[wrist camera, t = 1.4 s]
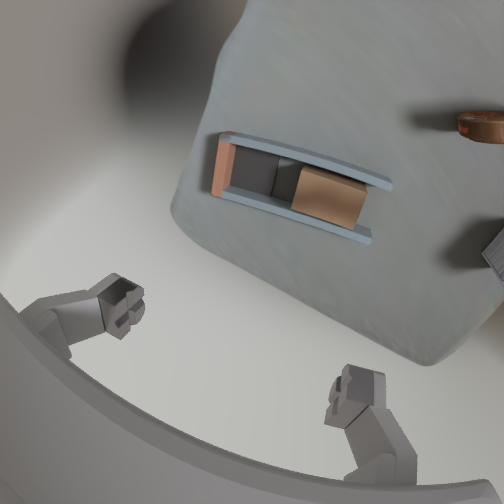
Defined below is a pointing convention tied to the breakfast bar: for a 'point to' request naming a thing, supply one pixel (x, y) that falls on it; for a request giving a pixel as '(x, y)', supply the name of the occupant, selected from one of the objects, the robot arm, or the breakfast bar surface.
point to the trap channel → (263, 175)
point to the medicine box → (496, 255)
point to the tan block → (329, 196)
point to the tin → (482, 126)
